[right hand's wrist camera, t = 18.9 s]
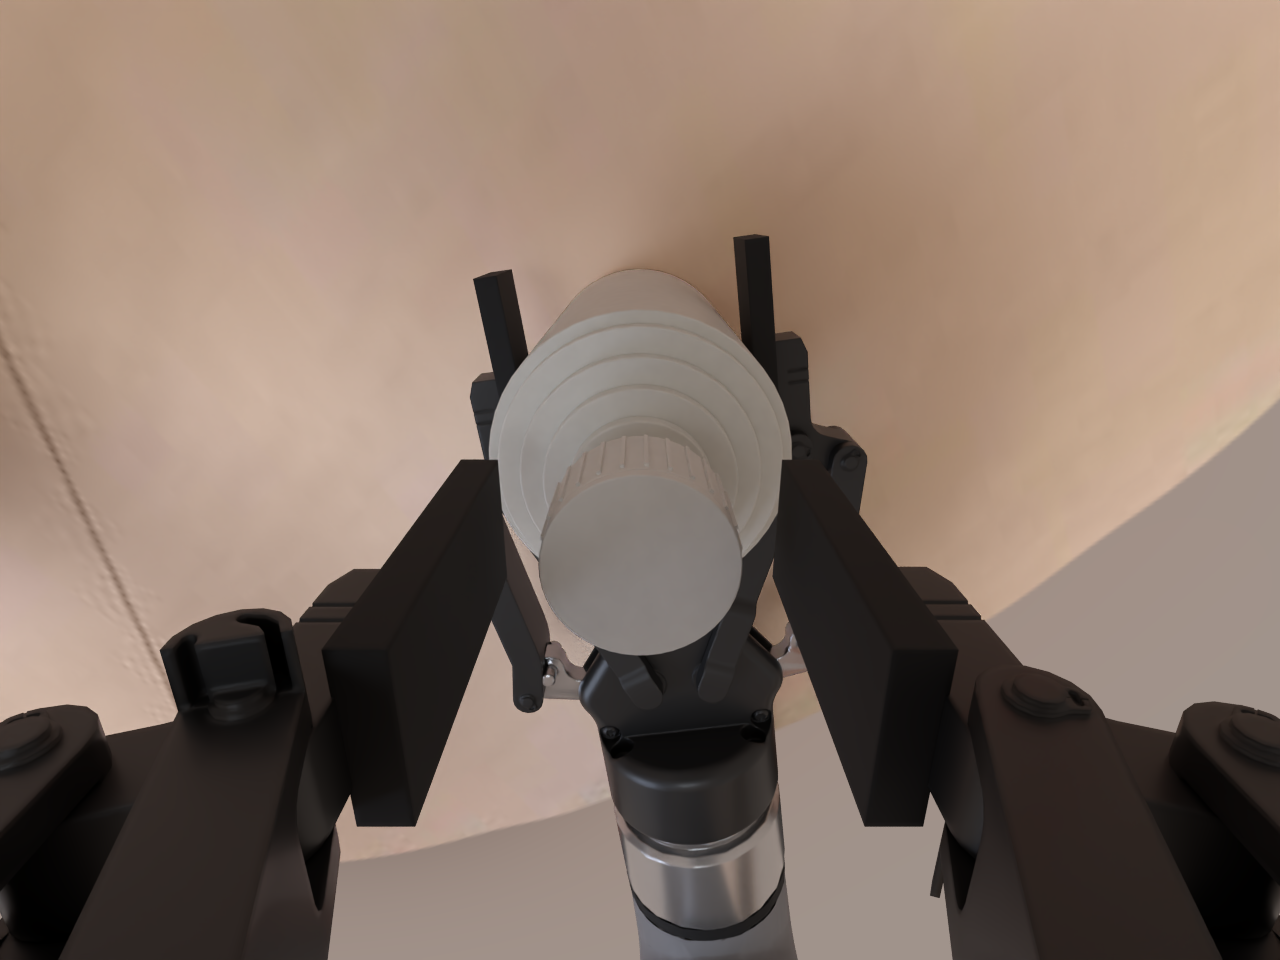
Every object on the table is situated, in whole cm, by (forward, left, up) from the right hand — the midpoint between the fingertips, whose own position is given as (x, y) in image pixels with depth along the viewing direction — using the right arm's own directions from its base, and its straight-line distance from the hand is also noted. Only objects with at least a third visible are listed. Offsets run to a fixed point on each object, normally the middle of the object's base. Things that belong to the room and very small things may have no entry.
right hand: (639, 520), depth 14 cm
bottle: (0, 0, -17) cm, 17 cm away
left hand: (-1, -5, -11) cm, 12 cm away
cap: (0, 0, +2) cm, 2 cm away
